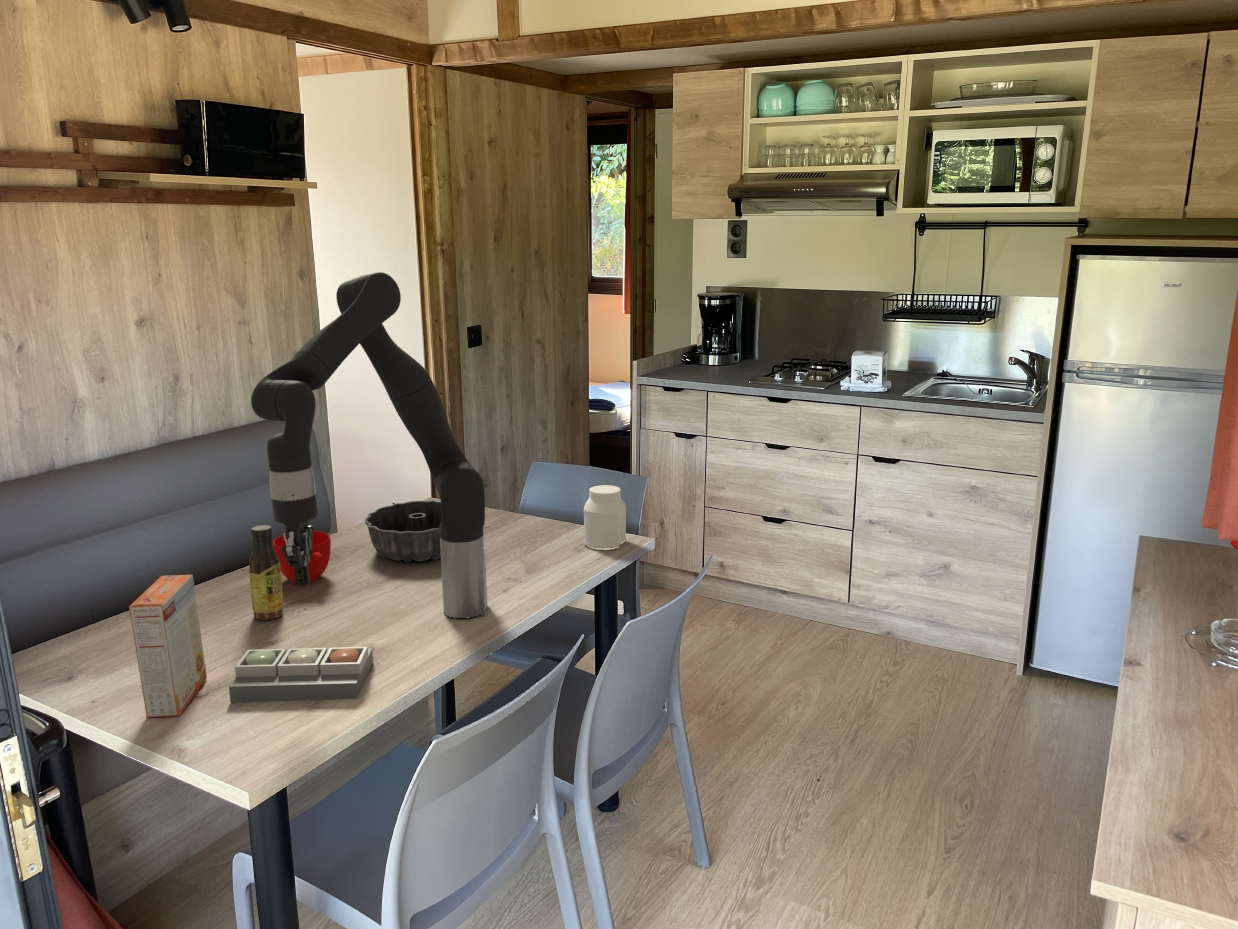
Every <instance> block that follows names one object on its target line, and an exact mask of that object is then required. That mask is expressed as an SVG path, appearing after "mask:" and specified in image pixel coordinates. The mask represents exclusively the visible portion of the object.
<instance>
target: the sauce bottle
mask: <svg viewBox="0 0 1238 929" xmlns="http://www.w3.org/2000/svg"><path fill="white" fill-rule="evenodd" d="M272 534H273V527H272V526H271V525H266V524H264V525H256V526H254V527H252V528H251V536H252V541H253V542H252V543H253V550H252V552H251V554H250V556H249V559H248V563H249V572H248V574H249V584H250V594H251V596H250V597H251V605H252V611H253V616H254V619H256V620H259V621H269V620H274V619H277V618H280V617H282V615H283V613H284V597H283V596H284V595H283V585H282V584H283V582H282V572H281V569H280V561H279V559H278V557H277V555H276V553H275V550H274V548H273V536H272Z"/></svg>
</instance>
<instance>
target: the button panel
mask: <svg viewBox="0 0 1238 929" xmlns="http://www.w3.org/2000/svg"><path fill="white" fill-rule="evenodd" d="M368 647H369V646H345V647H335V646H334V647H329V648H328V647H305V648H303V647H299V648H288V650H287V648H267V649H266V648H265V649H263V648H262V649H261V648H260V649H247V650H246V652H245V653H244V654H243V656H242V657H241V658H240V659H239V661H238V662H237V663H236V665H235V666H234V674H235V677H234V679H233V680H232V682H231V683H230V684H229V685H228V692H229V698H230V703H243V702H244V703H245V702H246V703H247V702H248V703H249V702H278V701H279V702H281V701H310V700H311V701H315V700H316V701H317V700H346V699H347V700H348V699H349V700H351V699H352V700H354V699H356V700H357V699H358V698H359V695H360V693H361V691H362V689H363V687H364V685H365V682H366V679H367V678H368V675H369V673H370V671H371V669H372V667H373V664H374V654H373V647H372V648H370V647H369V648H368ZM344 648H352V649H356V650H357V651H358V654H359V659H358V661H357V662H348V663H331V662H330V654H331V653H332V652H334V651H336V650H339V649H344ZM303 649H311V650H314V651H316V652H317V660H316V662H315V663H310V664H289V661H288V656H289V655H290V654H291V653H293V652H295V651H298V650H303ZM262 650H269V651H273V652H275V656H276V660H275V661H274V663H273V664H272V665H247V663H246V657H247V656H248V655H249V654H251V653H254V652H257V651H262ZM371 666H372V667H371Z"/></svg>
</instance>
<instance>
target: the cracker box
mask: <svg viewBox="0 0 1238 929" xmlns="http://www.w3.org/2000/svg"><path fill="white" fill-rule="evenodd" d="M196 595H197V594H196V588H195V581H194V574H179V575H178V574H177V575H175V574H167V575H161V576H160V577H159V578H157V580H156V581H155V582H154V583H152V584H151V585H150V586H149V587H148V588H147V589H146V590H145V591H144V592H143V593H142V594H141V595H140V596H138V597H137V599H136V600H134V601H133V602H132V603H131V604H130V605H129V606H128V611H129V616H130V622H131V629H132V633H133V636H132V637H133V640H134V647H135V653H136V659H137V666H138V667H137V668H138V672H139V677H140V684H141V690H142V691H141V692H142V698H143V702H144V708H145V709H144V710H145V715H146V716H145V717H146V718H147V719H148V718H149V719H151V718H168V717H180V716H181V714H183V712H184V710H185V709H186V708H187V706H188V705H189V704H190V702H191V700H193V698H194V696H195V695H196V694H197V692H199V689H200V688H201V687H202V685H203V684H204V683H205V682H206V680H207V669H206V663H205V662H206V661H205V654H204V648H203V640H202V638H203V637H202V633H201V626H200V625H201V624H200V617H199V609H198V602H197V597H196ZM150 717H151V718H150Z"/></svg>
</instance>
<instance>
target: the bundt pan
mask: <svg viewBox="0 0 1238 929" xmlns="http://www.w3.org/2000/svg"><path fill="white" fill-rule="evenodd" d="M364 524H366V526H367V530H368V533H369V538H370V541H371V545H372V547H373V548H374V550H375V552H376V553H378V555H379V556H380V557H383V558H385V559H386V558H387V559H390V560H392V561H402V560H403V561H404V563H410V562H412V561H413V560H414V561H417V562H426V561H427V560H429V559H432V560H433V559H435V560H434V561H436V560H438V559H440V558H441V550H440V531H439V527H440V524H441V501H437V500H433V499H431V500H411V501H406V502H397V503H396V502H395V503H393V504H391V505H385V506H382V507H379V508H376V509H375V510H374V511H373V512H369V513H367V516H366V518H364Z"/></svg>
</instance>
